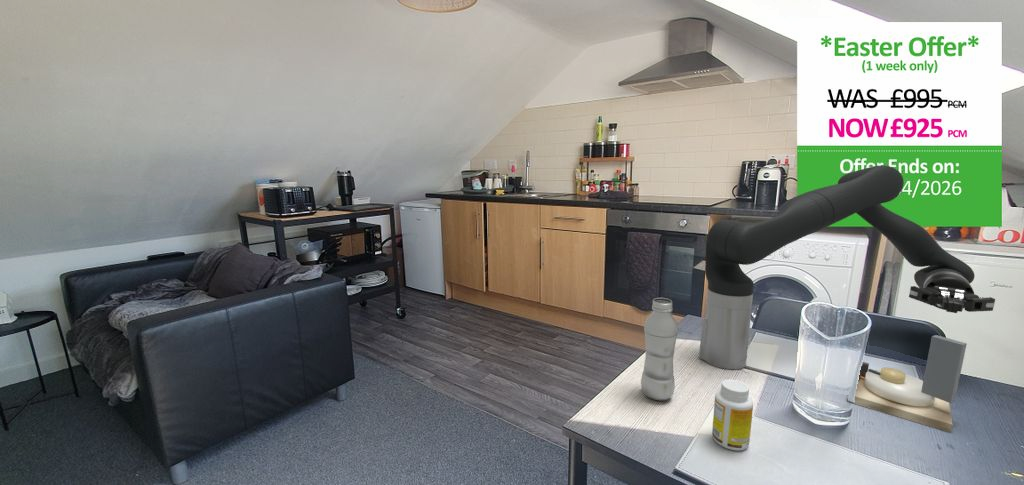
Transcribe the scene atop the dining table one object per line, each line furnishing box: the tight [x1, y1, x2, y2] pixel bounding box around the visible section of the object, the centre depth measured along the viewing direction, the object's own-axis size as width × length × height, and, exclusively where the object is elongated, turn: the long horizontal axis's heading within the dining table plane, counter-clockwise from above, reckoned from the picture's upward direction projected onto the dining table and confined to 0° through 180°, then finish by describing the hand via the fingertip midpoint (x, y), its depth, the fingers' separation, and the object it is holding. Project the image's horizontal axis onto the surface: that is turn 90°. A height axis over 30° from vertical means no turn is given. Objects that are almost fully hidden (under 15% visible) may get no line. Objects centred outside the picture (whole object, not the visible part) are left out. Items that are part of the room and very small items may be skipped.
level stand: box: [854, 361, 954, 433], centre depth 80 cm, size 14×14×4 cm
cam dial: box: [864, 334, 967, 407], centre depth 78 cm, size 12×10×13 cm
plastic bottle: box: [640, 297, 679, 402], centre depth 81 cm, size 6×7×20 cm
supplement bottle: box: [711, 378, 754, 452], centre depth 68 cm, size 6×6×10 cm
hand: (953, 307), depth 81 cm, fingers closed
